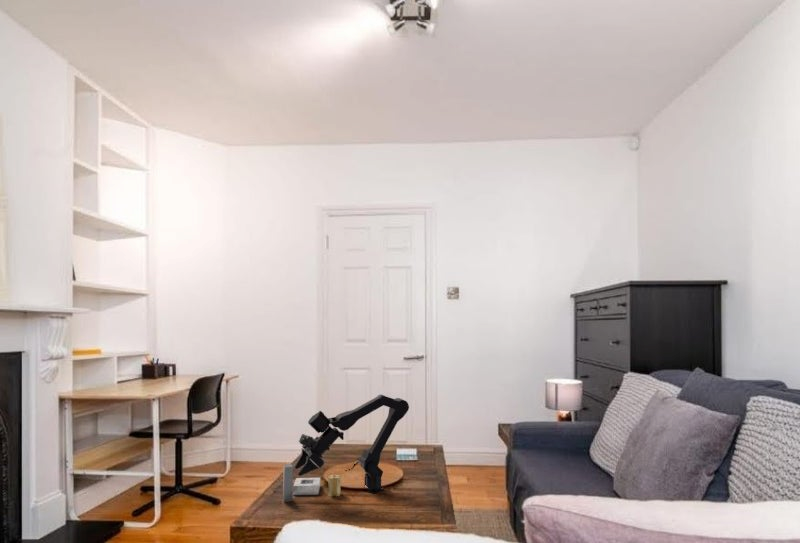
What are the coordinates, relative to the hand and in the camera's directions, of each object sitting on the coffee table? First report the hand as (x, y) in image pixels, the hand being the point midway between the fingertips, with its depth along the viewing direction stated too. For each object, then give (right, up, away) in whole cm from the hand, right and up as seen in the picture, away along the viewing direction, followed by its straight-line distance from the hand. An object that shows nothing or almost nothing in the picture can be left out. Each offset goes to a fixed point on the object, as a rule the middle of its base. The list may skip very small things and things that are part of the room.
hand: (297, 471), depth 203 cm
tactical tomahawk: (+19, -15, +45) cm, 51 cm away
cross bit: (+14, -11, +4) cm, 18 cm away
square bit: (-3, -10, -2) cm, 11 cm away
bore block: (+2, -11, +9) cm, 15 cm away
